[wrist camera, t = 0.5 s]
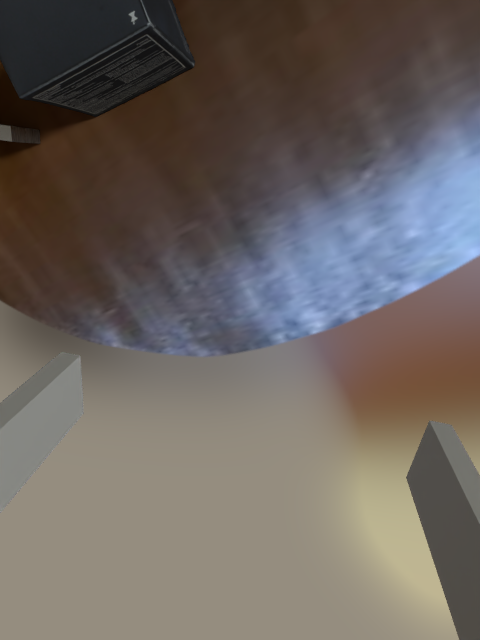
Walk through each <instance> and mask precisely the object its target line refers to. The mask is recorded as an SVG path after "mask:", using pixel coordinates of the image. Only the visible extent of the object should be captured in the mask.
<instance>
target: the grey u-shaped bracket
mask: <svg viewBox="0 0 480 640" xmlns="http://www.w3.org/2000/svg"><path fill="white" fill-rule="evenodd" d="M0 140H4V141H11V142H23V143H37V144H40V130H37V129H30V128H23V127H17V126H10V125H4V124H0Z"/></svg>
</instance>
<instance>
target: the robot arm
mask: <svg viewBox="0 0 480 640" xmlns="http://www.w3.org/2000/svg"><path fill="white" fill-rule="evenodd" d="M83 413H84V412H83V393H82V374H81V356H80V355H76V354H70V353H65V352H61V353H60V354H59V355H57V356H56V357H55V358H54V359H53V360H51V361H50V362H49V363H48V364H47V365H45V366H44V367H43V368H42V369H41V370H39V371H38V372H37V373H36V374H35V375H33V376H32V377H31V378H30V379H29V380H27V381H26V382H25V383H24V384H23V385H21V386H20V387H19V388H18V389H17V390H15V391H14V392H13V393H12V394H11V395H9V396H8V397H7V398H6V399H5V400H3V401H2V402H1V403H0V513H1V512H2V510H3V509H4V508H5V507H6V506H7V504H8V503H9V502H10V501H11V500H12V498H13V497H14V496H15V495H16V494H17V492H18V491H19V490H20V489H21V487H22V486H23V485H24V484H25V483H26V482H27V480H28V479H29V478H30V477H31V476H32V474H33V473H34V472H35V471H36V470H37V468H38V467H39V466H40V465H41V464H42V462H43V461H44V460H45V459H46V458H47V456H48V455H49V454H50V453H51V452H52V450H53V449H54V448H55V447H56V446H57V444H58V443H59V442H60V441H61V440H62V438H63V437H64V436H65V435H66V434H67V432H68V431H69V430H70V429H71V428H72V426H73V425H74V424H75V423H76V422H77V420H78V419H79V418H80V417H81V416H82V414H83ZM406 478H407V481H408V484H409V487H410V490H411V494H412V497H413V500H414V503H415V506H416V509H417V512H418V515H419V518H420V521H421V524H422V527H423V530H424V533H425V536H426V539H427V542H428V545H429V548H430V551H431V555H432V558H433V561H434V564H435V567H436V570H437V573H438V576H439V579H440V582H441V585H442V588H443V591H444V594H445V597H446V600H447V603H448V606H449V610H450V612H451V616H452V618H453V622H454V625H455V628H456V631H457V634H458V637H459V640H480V475H479V474H478V472H477V470H476V468H475V466H474V465H473V463H472V461H471V459H470V457H469V455H468V454H467V452H466V450H465V448H464V446H463V445H462V443H461V441H460V439H459V437H458V436H457V434H456V432H455V430H454V429H453V427H452V425H450V424H445V423H439V422H434V421H429V423H428V426H427V428H426V430H425V433H424V435H423V438H422V440H421V443H420V445H419V447H418V450H417V452H416V455H415V458H414V460H413V462H412V465H411V467H410V470H409V472H408V475H407V477H406Z"/></svg>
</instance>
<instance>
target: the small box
mask: <svg viewBox="0 0 480 640" xmlns="http://www.w3.org/2000/svg"><path fill="white" fill-rule="evenodd" d="M0 60H1V62H2V64H3V66H4V68H5V70H6V72H7V74H8V76H9V78H10V80H11V82H12V84H13V86H14V88H15V90H16V92H17V94H18V96H19V98H21V99H24V100H32V101H37V102H42V103H46V104H50V105H54V106H58V107H62V108H66V109H70V110H74V111H78V112H82V113H85V114H88V115H92V116H94V117H97V116H99V115H100V114H102V113H105V112H107V111H109V110H111V109H113V108H115V107H116V106H118V105H120V104H123V103H125V102H127V101H128V100H130V99H132V98H134V97H136V96H138V95H140V94H142V93H144V92H146V91H148V90H150V89H153V88H154V87H156V86H158V85H160V84H162V83H164V82H166V81H168V80H170V79H172V78H174V77H176V76H177V75H179V74H181V73H183V72H185V71H187V70H189V69H191V68H193V67H194V64H195V61H194V59H193V56H192V54H191V52H190V50H189V45H188V44H187V42H186V38H185V36H184V33H183V31H182V28H181V25H180V21H179V19H178V17H177V14H176V8H175V7H174V4H173V1H172V0H0Z"/></svg>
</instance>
